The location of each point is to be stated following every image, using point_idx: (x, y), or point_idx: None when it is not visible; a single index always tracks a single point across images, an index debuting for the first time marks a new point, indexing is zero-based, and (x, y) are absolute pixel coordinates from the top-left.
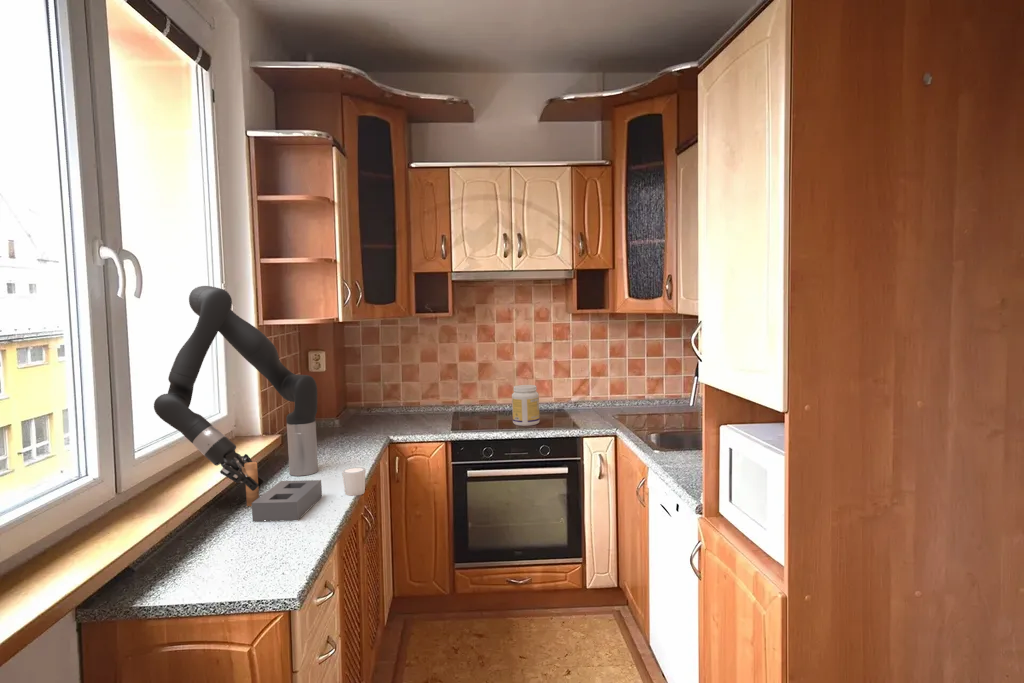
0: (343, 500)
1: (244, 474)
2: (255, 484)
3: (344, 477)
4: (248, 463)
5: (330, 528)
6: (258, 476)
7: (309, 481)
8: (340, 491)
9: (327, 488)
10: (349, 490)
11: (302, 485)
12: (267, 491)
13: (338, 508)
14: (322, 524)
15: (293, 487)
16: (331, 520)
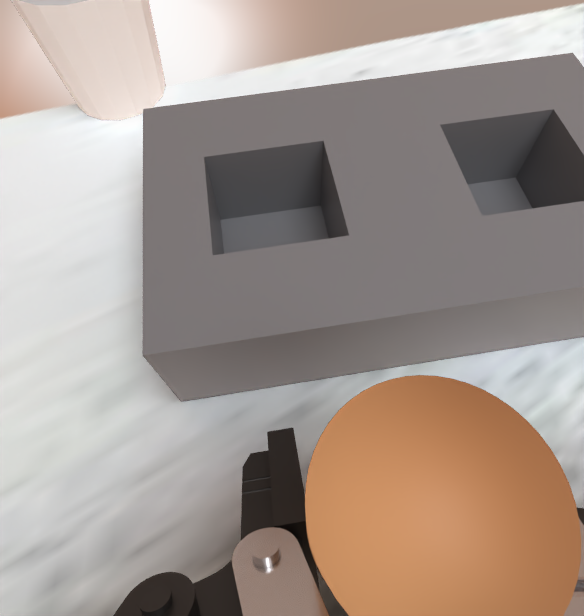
0: (230, 92)
1: (580, 526)
2: None
3: (129, 14)
4: (448, 563)
5: (550, 20)
6: (295, 474)
7: (171, 154)
8: (87, 149)
9: (16, 225)
10: (158, 68)
11: (208, 192)
12: (446, 304)
13: (337, 71)
14: (526, 51)
15: (216, 251)
16: (475, 44)
